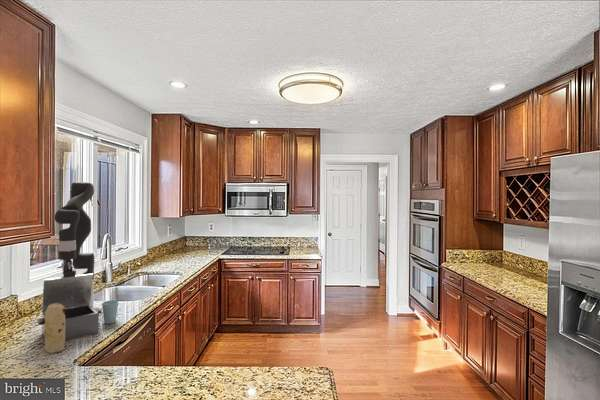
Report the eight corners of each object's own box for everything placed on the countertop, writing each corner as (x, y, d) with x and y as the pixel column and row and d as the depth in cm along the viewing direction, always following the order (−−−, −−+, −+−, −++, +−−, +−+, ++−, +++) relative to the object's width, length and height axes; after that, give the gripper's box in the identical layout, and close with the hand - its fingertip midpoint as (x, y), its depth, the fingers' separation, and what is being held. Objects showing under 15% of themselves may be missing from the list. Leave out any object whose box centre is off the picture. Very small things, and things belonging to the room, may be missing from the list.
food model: (69, 349, 153) (70, 303, 153) (53, 355, 147) (54, 308, 147) (55, 345, 157) (56, 301, 157) (39, 351, 151) (39, 305, 151)
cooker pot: (35, 334, 169) (35, 314, 169) (95, 322, 187) (95, 303, 186) (40, 346, 156) (41, 324, 156) (104, 331, 173) (104, 311, 173)
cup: (118, 318, 193) (118, 299, 193) (118, 322, 187) (118, 303, 186) (102, 320, 189) (102, 301, 189) (102, 325, 183) (102, 305, 183)
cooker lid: (41, 312, 171) (41, 310, 172) (89, 304, 185) (88, 301, 186) (44, 274, 165) (43, 272, 167) (93, 269, 180) (92, 266, 181)
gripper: (55, 248, 179) (55, 282, 179) (60, 251, 170) (60, 287, 170) (73, 247, 185) (72, 280, 185) (78, 250, 175) (78, 285, 175)
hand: (66, 283), depth 177 cm, fingers closed
